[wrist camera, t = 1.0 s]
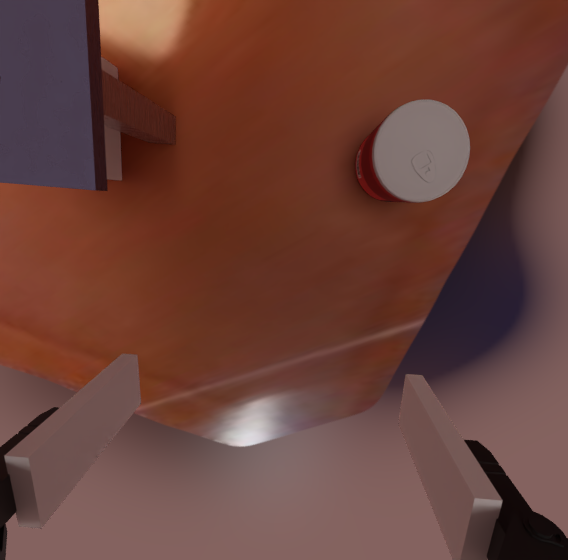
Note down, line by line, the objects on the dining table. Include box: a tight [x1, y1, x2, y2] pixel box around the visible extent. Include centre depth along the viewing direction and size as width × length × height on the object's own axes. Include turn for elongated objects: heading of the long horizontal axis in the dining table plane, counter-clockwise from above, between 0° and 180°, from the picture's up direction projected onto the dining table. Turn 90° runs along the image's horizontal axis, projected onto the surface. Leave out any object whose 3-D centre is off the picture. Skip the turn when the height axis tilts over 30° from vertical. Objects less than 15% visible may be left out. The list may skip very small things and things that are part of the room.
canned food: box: [355, 100, 470, 203], centre depth 32 cm, size 8×8×11 cm
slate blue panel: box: [0, 0, 175, 191], centre depth 30 cm, size 14×10×16 cm
